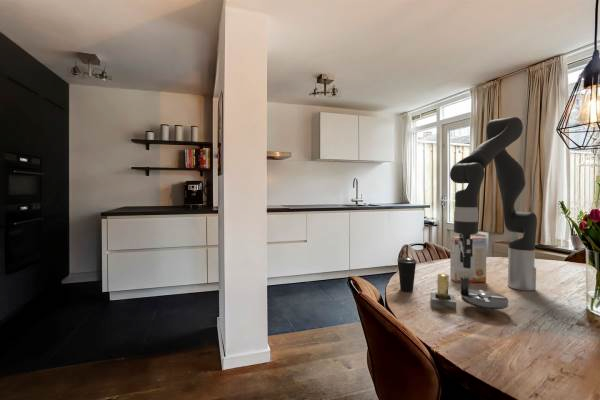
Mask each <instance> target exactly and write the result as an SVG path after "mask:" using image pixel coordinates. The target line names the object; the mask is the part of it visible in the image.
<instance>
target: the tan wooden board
mask: <svg viewBox="0 0 600 400" xmlns="http://www.w3.org/2000/svg"><path fill="white" fill-rule="evenodd" d="M430 307H431V309H430V310H431V313H437V314H445V315H452V316H461V317H467V318H468V317H469V318H473V319H474V318H475V319H482V320H489V321H495V322H496V321H498V322H504V323H511V321H510V319H509V318H508V316H507V315H506V313H505V311H504V310H503V309H487V308H481V307H477V306H474V305H471V304H468V303H466V302H464V301H463V300H462V299H461V300H458V299H456V296H455V294H452V293H448V300H446V299H438V292H434V291H430Z"/></svg>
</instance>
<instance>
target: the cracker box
mask: <svg viewBox="0 0 600 400" xmlns="http://www.w3.org/2000/svg"><path fill="white" fill-rule="evenodd" d="M470 236H471V239H472V240H473V243H472V248H473V250H472V254H473V256H472V257H471V268H464V267H463V263H462V262H460V251H459V235H451V236H450V237H449V238H450V239H449V241H450V246H449V247H450V262H449V263H450V268H449V269H450V273H449V274H450V280H452V281H453V282H456V283H461V277H468V278H469V283H487V237H484V236H482V235H479V236H478V235H470ZM467 253H469V252H467Z"/></svg>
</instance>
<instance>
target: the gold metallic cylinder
mask: <svg viewBox="0 0 600 400" xmlns="http://www.w3.org/2000/svg"><path fill="white" fill-rule="evenodd" d="M449 280H450V278H449V275H448V274H445V273H438V274H437V293H438V299H446V300H448V294H449V288H450V286H449V285H450V284H449Z"/></svg>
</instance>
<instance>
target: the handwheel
mask: <svg viewBox="0 0 600 400" xmlns="http://www.w3.org/2000/svg"><path fill="white" fill-rule="evenodd" d="M460 297H461V298H460V299H461V301H464V302H466V303H468V304H471V305H474V306H477V307H481V308H487V309H502V310H503V309H507V308H509V298H507V297H506V296H505V295H501V294H499V293H496V292H493V291H487V290H483V289H470V282H469V278H468V277H461V282H460Z"/></svg>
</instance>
